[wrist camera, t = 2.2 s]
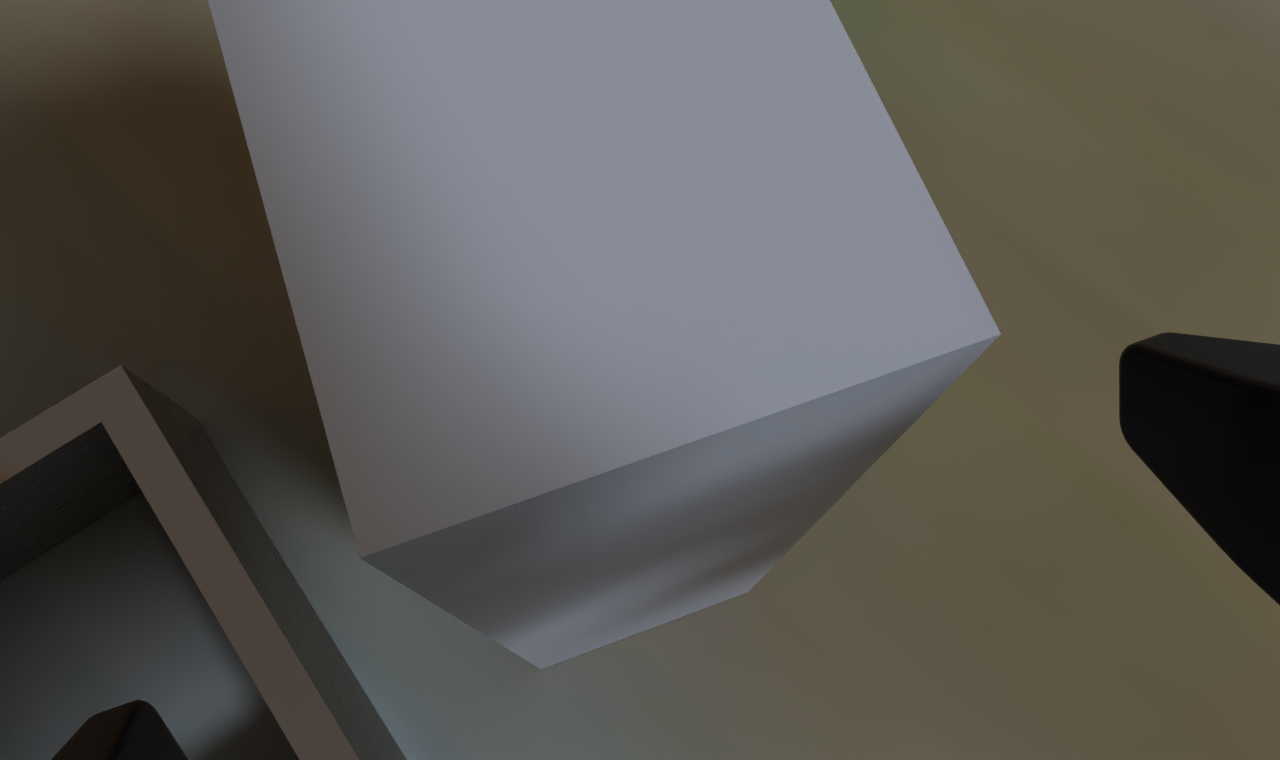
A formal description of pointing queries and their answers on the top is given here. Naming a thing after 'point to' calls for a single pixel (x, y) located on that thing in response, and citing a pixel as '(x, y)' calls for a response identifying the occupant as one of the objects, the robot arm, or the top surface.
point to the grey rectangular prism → (594, 289)
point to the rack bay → (187, 547)
